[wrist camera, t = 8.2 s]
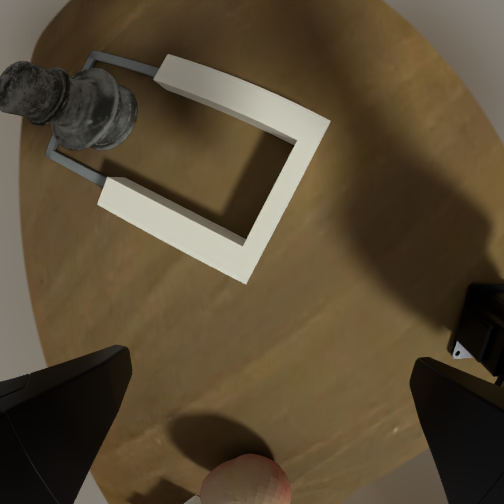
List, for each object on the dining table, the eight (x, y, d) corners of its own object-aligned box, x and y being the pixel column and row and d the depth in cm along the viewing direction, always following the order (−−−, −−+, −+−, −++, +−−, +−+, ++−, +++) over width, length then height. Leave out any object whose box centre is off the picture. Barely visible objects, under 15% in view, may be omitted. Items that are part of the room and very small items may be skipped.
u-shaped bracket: (325, 128, 19) (330, 121, 17) (249, 273, 22) (245, 284, 19) (179, 66, 19) (167, 53, 17) (115, 202, 21) (97, 204, 19)
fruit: (298, 481, 25) (298, 542, 18) (225, 488, 27) (212, 544, 19) (281, 434, 24) (278, 504, 16) (198, 442, 25) (176, 505, 18)
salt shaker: (73, 101, 20) (-37, 68, 8) (133, 69, 19) (33, 2, 8) (84, 165, 21) (-39, 161, 9) (148, 136, 20) (31, 99, 9)
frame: (167, 72, 19) (165, 70, 19) (111, 190, 21) (108, 190, 21) (95, 51, 19) (92, 50, 19) (47, 156, 21) (44, 155, 21)
